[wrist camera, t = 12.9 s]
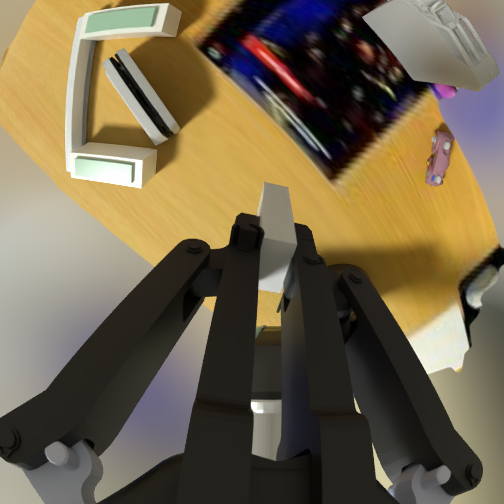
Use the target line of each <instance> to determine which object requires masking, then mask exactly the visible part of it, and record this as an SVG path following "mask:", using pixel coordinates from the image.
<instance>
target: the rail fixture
mask: <svg viewBox="0 0 504 504" xmlns="http://www.w3.org/2000/svg"><path fill="white" fill-rule="evenodd" d="M181 15H182V12H181V11H180V10H178V9H177V8H175V7H174V6H172V5H171V4H169V3H162V4H145V5H134V6H125V7H117V8H111V9H105V10H99V11H94V12H89V13H85V14H84V17H79V19H78V23H77V27H76V32H75V37H74V42H73V48H72V54H71V60H70V67H69V75H68V85H67V98H66V118H65V149H66V170H67V172H71V177H72V178H80V179H87V180H93V181H100V182H106V183H113V184H119V185H125V186H131V187H137V188H142V187H143V186H144V185H145V184H146V183H147V182H148V181H149V180H150V179H151V178H152V177H153V176H154V175H155V174H156V161H157V150H158V149H150V148H143V147H135V146H126V145H116V144H106V143H94V142H89V143H87V144H86V139H87V112H88V98H89V87H90V78H91V71H92V64H93V57H94V51H95V46H96V40H99V41H100V40H109V39H120V38H135V37H176V35H177V30H178V26H179V23H180V19H181Z"/></svg>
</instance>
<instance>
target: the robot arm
mask: <svg viewBox="0 0 504 504" xmlns="http://www.w3.org/2000/svg"><path fill="white" fill-rule="evenodd" d="M283 286H284V292H283V295H282V298H281V300H280V303H279V306H278V309H277V313H279V311H280V309H281V326H266V325H263V326H260V327H256V320H257V304H258V289H259V290H265V291H271V292H277V293H281V290H282V287H283ZM212 296H217V299H216V303H215V308H214V312H213V317H212V322H211V326H210V331H209V335H208V340H207V345H206V350H205V354H204V359H203V364H202V369H201V374H200V379H199V384H198V389H197V394H196V398H195V401H194V404H193V408H192V413H191V418H190V423H189V429H188V434H187V439H186V445H185V451H184V453H181V454H177V455H174V456H172V457H169V458H168V459H166V460H164V461H162V462H160V463H159V464H157V465H156V466H155V467H153V468H152V469H150V470H149V471H148V472H146V473H145V474H143V475H142V476H140V477H139V478H137V479H136V480H134V481H133V482H131V483H130V484H128V485H127V486H125V487H124V488H122V489H120V490H119V491H117V492H115V493H114V494H112V495H110V496H109V497H107V498H105V499H104V500H102V501H100V502H98V503H97V504H450V502H451V501H452V499H453V498H454V497H455V496H456V495H459V494H462V493H464V492H467V491H469V490H471V489H474V488H475V487H477V485H478V484H479V482H480V481H481V478H482V474H483V467H482V463H481V461H480V459H479V458H478V457H477V455H476V454H475V453H474V452H473V450H472V449H471V448H470V447H469V446H468V444H467V443H466V442H465V441H464V440H463V439H462V437H461V436H460V435H459V434H458V433H457V432H456V430H455V429H454V427H453V425H452V423H451V421H450V418H449V416H448V414H447V412H446V410H445V408H444V406H443V404H442V402H441V400H440V398H439V396H438V394H437V392H436V390H435V388H434V386H433V384H432V383H431V380H430V379H429V377H428V375H427V373H426V371H425V369H424V368H423V366H422V364H421V362H420V360H419V359H418V357H417V355H416V353H415V352H414V350H413V348H412V346H411V345H410V343H409V341H408V340H407V338H406V336H405V335H404V333H403V331H402V330H401V328H400V326H399V325H398V323H397V322H396V320H395V318H394V317H393V315H392V314H391V312H390V310H389V309H388V307H387V306H386V304H385V303H384V301H383V300H382V298H381V297H380V295H379V294H378V292H377V291H376V289H375V288H374V286H373V285H372V283H371V282H370V280H369V277H368V275H367V274H366V273H365V272H364V271H363V270H362V269H360V268H359V267H356V266H353V265H348V264H338V265H333V266H329V267H327V266H326V262H325V261H324V259H323V258H322V257H321V256H320V255H318V254H317V251H316V247H315V243H314V239H313V235H312V231H311V230H310V229H309V228H308V226H307V225H302V224H298V223H294V220H293V214H292V208H291V202H290V196H289V190H288V187H285V186H280V185H275V184H271V183H266V182H264V185H263V190H262V194H261V198H260V203H259V207H258V212H257V216H256V215H251V214H245V213H240V214H239V215H238V216H236V220H235V224H234V225H233V226H232V230H231V236H230V241H229V245H227V246H226V247H224V248H220V249H210V246H209V245H208V244H207V243H206V242H204V241H202V240H199V239H186V240H183V241H181V242H180V243H179V244H178V245H177V246H176V247H175V248H174V249H173V250H172V251H171V252H170V253H168V254H167V255H166V256H165V257H164V258H163V259H162V260H161V261H160V262H159V263H158V264H157V265H156V266H155V267H154V269H153V270H152V271H151V272H150V273H149V274H148V275H147V276H146V277H145V278H144V279H143V280H142V281H141V282H140V283H139V284H138V285H137V286H136V287H135V288H134V289H133V290H132V291H131V292H130V293H129V294H128V295H127V297H126V298H125V299H124V300H123V301H122V302H121V303H120V304H119V305H118V306H117V307H116V308H115V309H114V311H113V312H112V313H111V314H110V315H109V316H108V317H107V318H106V319H105V320H104V322H103V323H102V324H101V325H100V326H99V327H98V328H97V329H96V331H95V332H94V333H93V334H92V335H91V336H90V338H88V340H87V341H86V342H85V343H84V344H83V345H82V347H81V348H80V349H79V350H78V351H77V353H76V354H75V355H74V356H73V357H72V358H71V360H70V361H69V362H68V363H67V364H66V366H65V367H64V368H63V369H62V371H61V372H60V373H59V374H58V376H57V377H56V378H55V379H54V381H53V382H52V383H51V384H50V386H49V387H48V388H47V389H46V390H45V391H43V392H42V393H40V394H39V395H37V396H35V397H34V398H32V399H30V400H29V401H27V402H26V403H24V404H22V405H21V406H19V407H17V408H16V409H14V410H12V411H11V412H9V413H8V414H6V415H4V416H3V417H1V418H0V457H2V458H3V459H4V460H5V461H7V462H9V463H11V464H13V465H15V466H17V467H19V468H21V469H22V470H23V471H24V473H25V474H26V476H27V477H28V479H29V480H30V482H31V484H32V485H33V487H34V488H35V490H36V491H37V493H38V494H39V496H40V497H41V499H42V500H43V501H44V503H45V504H96V502H95V499H94V490H95V487H96V485H97V484H98V482H99V481H100V480H101V478H102V475H103V466H102V463H101V461H100V459H99V458H98V457H99V456H100V455H101V454H102V453H103V452H104V451H105V450H106V449H107V448H108V447H109V446H110V445H111V443H112V442H113V441H114V439H115V438H116V436H117V435H118V434H119V432H120V430H121V429H122V427H123V426H124V424H125V422H126V421H127V419H128V418H129V416H130V415H131V413H132V411H133V410H134V408H135V407H136V405H137V403H138V402H139V400H140V399H141V397H142V396H143V394H144V392H145V391H146V389H147V388H148V386H149V385H150V383H151V381H152V380H153V378H154V377H155V375H156V374H157V372H158V371H159V369H160V367H161V366H162V364H163V363H164V361H165V359H166V358H167V357H168V355H169V353H170V352H171V350H172V349H173V347H174V346H175V344H176V342H177V341H178V339H179V338H180V336H181V335H182V333H183V332H184V330H185V329H186V327H187V326H188V324H189V323H190V321H191V320H192V318H193V316H194V315H195V314H196V312H197V310H198V309H199V307H200V306H201V304H202V303H203V301H204V299H205V297H212ZM354 398H355V399H356V402H357V404H358V407H359V409H360V412H361V414H360V413H358V412H357V411H356V409H355V403H354ZM372 443H373V446H374V448H375V451H376V454H377V456H378V459H379V461H380V463H381V466H382V468H383V470H384V471H385V473H386V475H387V476H388V478H389V479H390V480H391V482H392V483H393V485H392V486H390V487H389V488H388V490H386V489H385V488H384V487H383V486H382V485H381V484H380V483H379V481H378V480H376V475H375V466H374V457H373V448H372Z"/></svg>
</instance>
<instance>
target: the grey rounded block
mask: <svg viewBox="0 0 504 504" xmlns="http://www.w3.org/2000/svg"><path fill="white" fill-rule="evenodd" d="M116 53H117V54H115V57H116V58H117V60H118V61H119V63H120V64H121V66H120V64H119V63H118V62H117V61H116V60H115V59H114V58H113V57H111V58H107V59H106V60H105V61H104V62H103V63H102V65H103V67H104V68H105V70H106V73H105V74H106V75H107V77H108V78H109V80H110V81H111V83H112V84H113V86H114V87H115V89H116V90H117V91H118V93H119V94H120V96H121V97H122V99H123V100H124V102H125V103H126V104H127V106H128V107H129V109H130V110H131V112H132V113H133V114H134V116H135V117H136V119H137V120H138V122H139V123H140V124H141V126H142V127H143V129H144V130H145V132H146V133H147V134H148V136H149V137H150V139H151V140H152V142H153V143H154V144H155V146H156V145H158V144H160V143H162V142H164V141H166V140H169V139H168V137H170V136H169V134H168V133H167V132H166V130H167V131H169V132H170V133H171V134H172V135H173V134H177V133H178V132H179V131H180V129H181V128H180V127H179V125H178V124H177V123H176V121H175V120H174V118H173V117H172V115H171V114H170V112H169V111H168V110H167V108H166V107H165V105H164V104H163V102H162V101H161V99H160V98H159V97H158V95H157V94H156V92H155V91H154V89H153V88H152V87H151V85H150V84H149V82H148V81H147V79H146V78H145V77H144V75H143V74H142V72H141V71H140V69H139V68H138V67H137V65H136V64H135V62H134V61H133V60H132V58H131V57H130V55H129V54H128V53H127V51H126V50H125V49H124V48H123V49H121V50H119V51H117V52H116ZM136 89H138V90H139V92H140V93H141V95H142V96H143V98H144V99H145V100H146V102H147V103H148V105H149V106H150V107H146V106H145V104H144V103H143V101H142V100H141V99H140V97H139V96H138V94H137V93H136ZM162 125H163V126H164V127H165V128H166V130H165V129H164V128H163V127H161V126H162Z"/></svg>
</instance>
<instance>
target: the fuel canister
mask: <svg viewBox="0 0 504 504" xmlns="http://www.w3.org/2000/svg"><path fill="white" fill-rule="evenodd" d="M446 3H447V2H445V1H444V0H389V1H388V2H386V3H384V4H382V5H380V6H379V7H377V8H376V9H374V10H373V11H371V12H369V13H368V14H366V15H365V16H363V19H364V21H365V22H366V23H367V24H368V25H369V26H370V27H371V28H372V29H373V30H374V31H375V32H376V34H377V35H378V36H379V37H380V38H381V39H382V40H383V42H384V43H385V44H386V45H387V46H388V48H389V49H390V50H391V51H392V52H393V54H394V55H395V56H396V57H397V59H398V60H399V61H400V63H401V64H402V65H403V67H404V68H405V69H406V71H407V72H408V74H409V75H410V76H411V78H412V79H413V80H415V81H424V82H431V83H438V84H444V85H450V86H455V87H460V88H465V89H470V90H474V91H478V92H479V91H480V90H481V89H482V88H484V87H485V86H486V85H487V84H488V83H489V82H490V81H492V80H493V79H494V78H495V77H496V76H497V75H498V74H499V68H498V66H497V64H496V62H495V60H494V58H493V56H492V54H491V53H489V52H488V51H487V49H486V47H485V45H484V43H483V42H482V40H481V38H480V37H479V35H478V33H477V31H476V30H475V28H474V27H473V25H472V23H471V22H470V21H469V19H468V18H467V17H465V16H463V15H461V14H459V13H457V12H455V11H453V10H452V9H451V7H450V6H449V5H448V4H446ZM460 19H461V20H463V21H464V22H465V24H466V25H467V27H468V28H469V30H470V31H471V33H472V34H473V36H474V38H475V39H476V41H477V43H478V44H477V43H476V42H474V40H473V39H472V37H471V36H470V34H469V33H468V31H467V30H466V28H465V27H464V25H463V24H462V23H461V21H460Z"/></svg>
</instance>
